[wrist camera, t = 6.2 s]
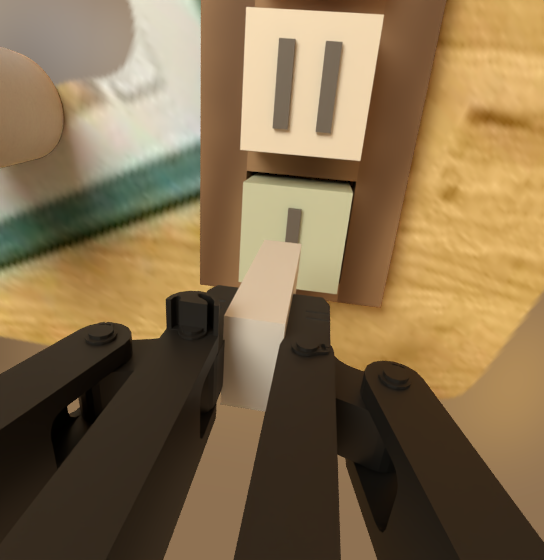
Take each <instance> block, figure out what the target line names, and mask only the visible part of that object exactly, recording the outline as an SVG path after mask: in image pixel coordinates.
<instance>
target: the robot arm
mask: <svg viewBox="0 0 544 560" xmlns="http://www.w3.org/2000/svg"><path fill="white" fill-rule="evenodd" d="M301 245H302V244H297V243H289V242H281V241H272V240H264V242H263V243H262V245H261V247H260V249H259V251H258V253H257V255H256V257H255V258H254V260H253V262H252V264H251V266H250V268H249V270H248V272H247V273H246V275H245V277H244V279H243V281H242V283H241V285H240V287H239V288H238V287H230V286H223V285H217V286H215V287H214V288H212V289H210V290H208V291H207V293H205V292H201V291H186V292H179V293H176V294H173V295H171V296H169V297H168V298H167V299H166V321H167V329H166V330H165V331H164V333H163V334H162V335H161V337H160V338H158V339H146V340H132V336H131V331H130V330H129V328H128V327H126V326H124V325H122V324H118V323H112V322H107V323H105V322H102V323H98V324H93V325H89V326H87V327H84V328H82V329H80V330H78V331H76V332H74V333H73V334H71V335H69V336H67V337H65V338H64V339H62V340H60V341H58V342H57V343H55V344H53V345H51V346H49V347H48V348H46V349H44V350H43V351H41V352H39V353H37V354H35V355H33V356H32V357H30V358H28V359H26V360H25V361H23V362H21V363H19V364H17V365H16V366H14V367H12V368H10V369H9V370H7V371H5V372H3V373H1V374H0V560H163V558H164V556H165V553H166V550H167V548H168V545H169V542H170V540H171V537H172V534H173V532H174V529H175V526H176V524H177V521H178V518H179V515H180V513H181V510H182V507H183V505H184V502H185V499H186V497H187V494H188V491H189V488H190V486H191V483H192V480H193V478H194V475H195V472H196V470H197V467H198V464H199V462H200V459H201V456H202V454H203V451H204V448H205V445H206V443H207V440H208V437H209V435H210V432H211V429H212V427H213V424H214V421H215V418H216V402H217V399H218V397H219V394H220V392H221V404H222V405H228V406H234V407H240V408H246V409H252V410H258V411H265V416H264V421H263V425H262V430H261V434H260V439H259V444H258V448H257V453H256V458H255V462H254V467H253V472H252V477H251V481H250V486H249V490H248V495H247V500H246V504H245V509H244V513H243V519H242V523H241V528H240V532H239V537H238V541H237V547H236V551H235V555H234V560H341V554H340V526H339V525H340V524H339V523H340V522H339V493H338V491H339V490H338V460H337V454H338V455H340V456H342V457H344V458H345V459H346V467H347V470H348V473H349V476H350V479H351V482H352V485H353V488H354V491H355V494H356V497H357V500H358V503H359V506H360V509H361V512H362V515H363V518H364V521H365V524H366V527H367V530H368V533H369V536H370V539H371V542H372V544H373V548H374V551H375V553H376V557H377V560H544V542H543V541H542V539H541V538H540V537H539V535H538V534H537V533H536V531H535V530H534V529H533V528H532V526H531V524H530V523H529V522H528V521H527V519H526V518H525V516H524V515H523V514H522V513H521V511H520V510H519V508H518V507H517V506H516V504H515V503H514V501H513V500H512V499H511V497H510V496H509V495H508V493H507V492H506V491H505V489H504V488H503V486H502V485H501V484H500V483H499V481H498V480H497V479H496V477H495V476H494V474H493V473H492V472H491V470H490V469H489V468H488V466H487V465H486V463H485V462H484V461H483V459H482V458H481V457H480V455H479V454H478V453H477V451H476V450H475V449H474V448H473V446H472V444H471V443H470V442H469V440H468V439H467V438H466V436H465V435H464V434H463V432H462V431H461V430H460V428H459V427H458V426H457V424H456V423H455V422H454V420H453V419H452V417H451V416H450V415H449V413H448V412H447V411H446V409H445V408H444V407H443V405H442V404H441V402H440V401H439V400H438V398H437V397H436V396H435V394H434V393H433V392H432V390H431V389H430V388H429V386H428V385H427V383H426V382H425V381H424V379H423V378H422V377H421V376H420V375H419V374H418V373H417V372H416V371H414V370H412V369H410V368H409V367H407V366H405V365H402V364H399V363H396V362H390V361H377V362H373V363H371V364H369V365H367V367H366V369H365V371H364V372H363V371H361V370H358V369H355V368H353V367H350V366H348V365H346V364H344V363H343V362H341V361H339V360H338V359H337V358H336V357H335V356H334V351H333V348H332V346H331V345H330V305H329V304H328V303H327V302H326V301H325V299H324V298H322V297H314V296H307V295H299V294H296V287H297V278H298V270H299V262H300V253H301ZM77 398H79V404H80V408H78V409H77V410H76V411H75V412H72V413H70V414H69V413H68V410H67V406H68V405H69V404H70V403H72V402H73V401H74V400H76V399H77Z"/></svg>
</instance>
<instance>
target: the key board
mask: <svg viewBox="0 0 544 560" xmlns="http://www.w3.org/2000/svg"><path fill="white" fill-rule="evenodd" d="M445 5H446V0H201V182H200V284H201V285H209V286H217V285H223V286H230V287H238V288H239V287H240V285H241V283H242V282H239V261H240V240H241V219H242V197H243V182H244V181H246V180H247V179H249V178H250V177H251V176H252V174H253V171H254V172H264V173H274V174H285V175H295V176H305V177H315V178H325V179H336V180H346V181H354V182H353V188H352V192H353V196H352V203H351V209H350V215H349V221H348V228H347V234H346V240H345V246H344V253H343V259H342V265H341V271H340V277H339V284H338V290H337V294H331V293H323V292H315V291H307V290H299V289H296V294H299V295H307V296H314V297H322V298H324V299H325V300H326V301H334V302H341V303H349V304H357V305H365V306H372V307H380V308H381V303H382V299H383V294H384V289H385V285H386V280H387V275H388V271H389V266H390V261H391V257H392V252H393V247H394V243H395V238H396V233H397V229H398V224H399V219H400V215H401V210H402V205H403V201H404V196H405V191H406V187H407V182H408V177H409V173H410V168H411V163H412V159H413V154H414V149H415V145H416V140H417V135H418V131H419V126H420V121H421V117H422V112H423V107H424V103H425V98H426V93H427V89H428V84H429V79H430V75H431V70H432V65H433V61H434V56H435V51H436V47H437V42H438V37H439V33H440V28H441V23H442V19H443V14H444V9H445ZM246 7H257V8H275V9H292V10H310V11H328V12H346V13H364V14H382V15H384V18H383V25H382V31H381V37H380V43H379V49H378V55H377V61H376V68H375V74H374V80H373V86H372V92H371V98H370V105H369V111H368V117H367V123H366V129H365V135H364V141H363V148H362V154H361V160H360V161H355V160H344V159H334V158H323V157H312V156H301V155H290V154H280V153H269V152H258V151H247V150H240V141H241V118H242V94H243V70H244V47H245V23H246Z"/></svg>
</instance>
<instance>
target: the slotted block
mask: <svg viewBox="0 0 544 560" xmlns="http://www.w3.org/2000/svg"><path fill="white" fill-rule="evenodd" d="M352 196H353V192H352V189H351V187H350V184H349V182H340V181H330V180H320V179H309V178H299V177H289V176H279V175H269V174H259V173H256V174H254V175H253V176H251V177H250V178H249V179H247V180H246V181H244V182H243V197H242V219H241V240H240V261H239V282H242V281H243V279H244V277H245V275H246V273H247V272H248V270H249V268H250V266H251V264H252V262H253V260H254V258H255V257H256V255H257V253H258V251H259V249H260V247H261V245H262V243H263V242H264V240H272V241H281V242H289V243H297V244H302V245H301V253H300V262H299V270H298V278H297V287H296V289H299V290H307V291H315V292H323V293H331V294H337V290H338V284H339V277H340V271H341V265H342V259H343V253H344V246H345V240H346V234H347V228H348V221H349V215H350V209H351V203H352Z"/></svg>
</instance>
